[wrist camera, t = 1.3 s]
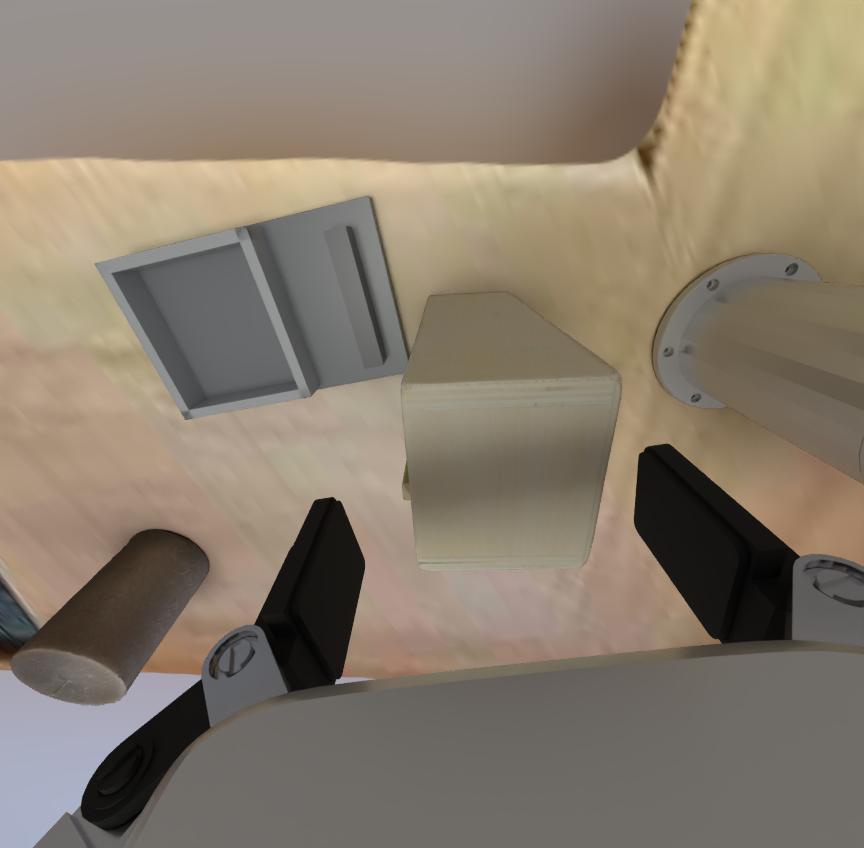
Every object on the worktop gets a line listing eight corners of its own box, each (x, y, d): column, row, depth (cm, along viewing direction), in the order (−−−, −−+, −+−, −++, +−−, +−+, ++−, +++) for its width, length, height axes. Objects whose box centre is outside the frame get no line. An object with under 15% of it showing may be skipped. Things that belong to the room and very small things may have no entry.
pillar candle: (114, 531, 42) (-37, 667, 29) (191, 526, 41) (73, 663, 28) (153, 585, 47) (38, 724, 33) (223, 582, 46) (134, 722, 33)
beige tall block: (418, 292, 29) (375, 386, 10) (508, 288, 29) (635, 376, 10) (424, 384, 32) (401, 576, 14) (504, 381, 32) (591, 573, 14)
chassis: (371, 197, 26) (361, 191, 23) (411, 367, 32) (408, 382, 28) (130, 257, 28) (89, 259, 25) (209, 405, 34) (184, 423, 31)
